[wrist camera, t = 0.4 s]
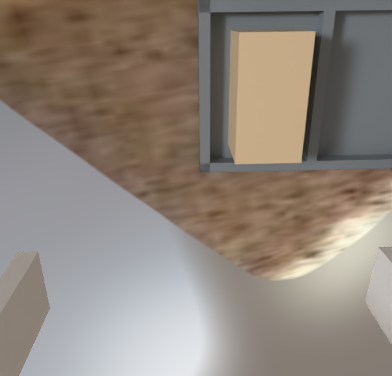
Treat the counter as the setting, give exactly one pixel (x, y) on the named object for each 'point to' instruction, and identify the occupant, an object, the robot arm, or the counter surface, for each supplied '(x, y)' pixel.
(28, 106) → the counter surface
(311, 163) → the bay tray
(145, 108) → the counter surface
